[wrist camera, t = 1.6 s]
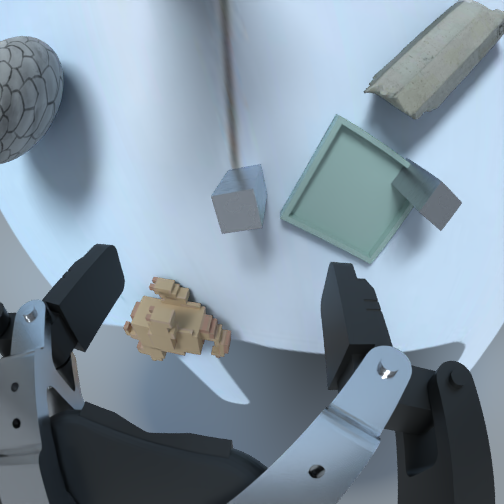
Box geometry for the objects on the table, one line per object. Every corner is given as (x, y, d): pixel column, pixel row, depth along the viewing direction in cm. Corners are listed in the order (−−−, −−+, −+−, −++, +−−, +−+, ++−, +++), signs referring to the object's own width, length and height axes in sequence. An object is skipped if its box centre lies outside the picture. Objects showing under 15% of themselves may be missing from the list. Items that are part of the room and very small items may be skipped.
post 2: (389, 182, 34) (419, 211, 26) (406, 157, 32) (441, 181, 24) (410, 198, 35) (440, 231, 27) (426, 175, 33) (462, 202, 24)
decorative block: (492, 29, 16) (520, 28, 10) (392, 132, 31) (416, 143, 24) (462, -9, 14) (488, -17, 8) (353, 90, 29) (371, 90, 22)
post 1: (236, 199, 39) (222, 233, 30) (228, 170, 36) (211, 196, 28) (267, 194, 38) (262, 227, 29) (260, 164, 36) (253, 188, 27)
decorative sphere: (10, 126, 33) (-65, 161, 16) (36, 32, 23) (-50, 41, 6) (69, 158, 37) (-19, 209, 20) (106, 46, 27) (0, 44, 10)
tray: (280, 212, 39) (280, 218, 37) (336, 114, 31) (339, 115, 29) (367, 257, 41) (370, 264, 40) (425, 175, 33) (431, 180, 31)
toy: (105, 308, 39) (137, 363, 52) (224, 332, 38) (225, 382, 51) (128, 266, 46) (150, 327, 59) (234, 282, 45) (232, 342, 59)
